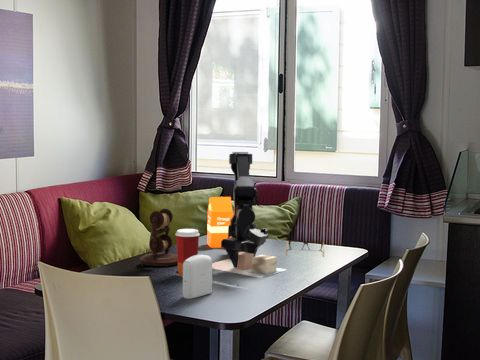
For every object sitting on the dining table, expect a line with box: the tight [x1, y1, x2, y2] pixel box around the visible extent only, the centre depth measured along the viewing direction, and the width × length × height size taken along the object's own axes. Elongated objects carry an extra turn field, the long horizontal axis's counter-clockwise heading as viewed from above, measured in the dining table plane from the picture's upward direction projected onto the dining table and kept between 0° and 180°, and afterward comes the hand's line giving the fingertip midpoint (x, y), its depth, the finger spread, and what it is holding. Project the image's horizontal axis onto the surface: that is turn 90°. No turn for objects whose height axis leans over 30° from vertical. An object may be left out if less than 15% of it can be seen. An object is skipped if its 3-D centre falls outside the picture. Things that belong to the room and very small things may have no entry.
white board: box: [212, 258, 287, 279], centre depth 261 cm, size 26×16×1 cm, turn 52°
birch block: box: [252, 254, 278, 274], centre depth 256 cm, size 6×6×5 cm
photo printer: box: [182, 254, 213, 300], centre depth 227 cm, size 10×4×12 cm, turn 140°
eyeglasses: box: [286, 239, 325, 258], centre depth 295 cm, size 14×14×4 cm
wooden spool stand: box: [139, 208, 178, 268], centre depth 267 cm, size 15×15×20 cm
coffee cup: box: [174, 228, 201, 277], centre depth 254 cm, size 8×8×15 cm
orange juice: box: [206, 196, 234, 249], centre depth 305 cm, size 8×9×20 cm
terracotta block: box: [233, 252, 254, 270], centre depth 261 cm, size 5×5×5 cm
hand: (243, 265), depth 261 cm, fingers open, 9 cm apart
